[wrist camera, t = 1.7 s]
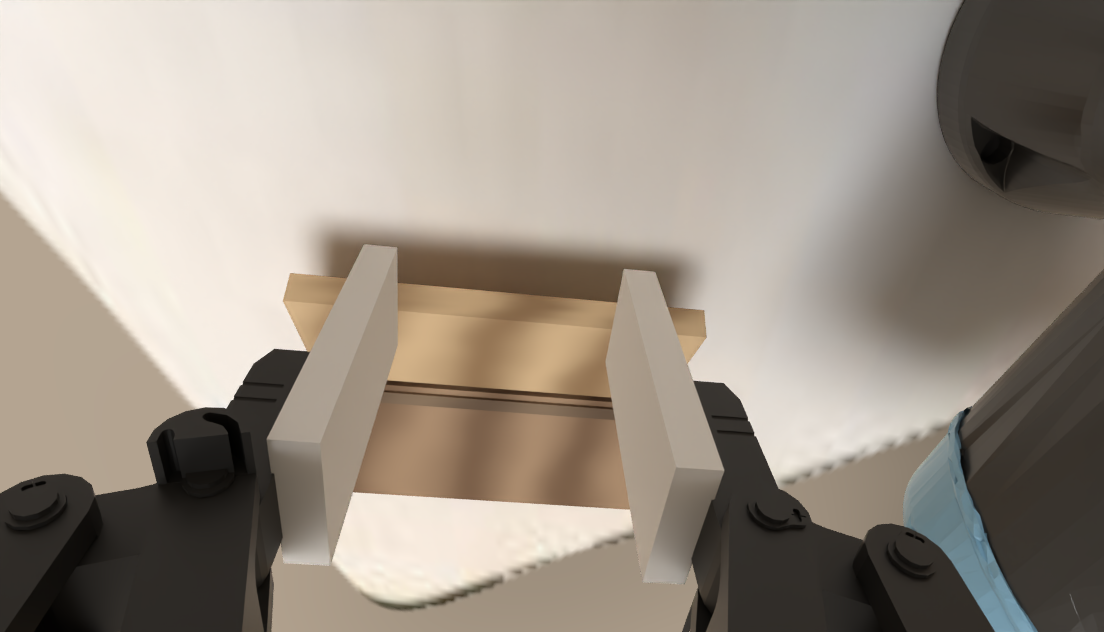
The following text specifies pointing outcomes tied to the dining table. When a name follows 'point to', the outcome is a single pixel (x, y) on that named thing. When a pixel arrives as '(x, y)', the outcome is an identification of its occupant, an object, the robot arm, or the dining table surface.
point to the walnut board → (494, 446)
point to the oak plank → (490, 335)
